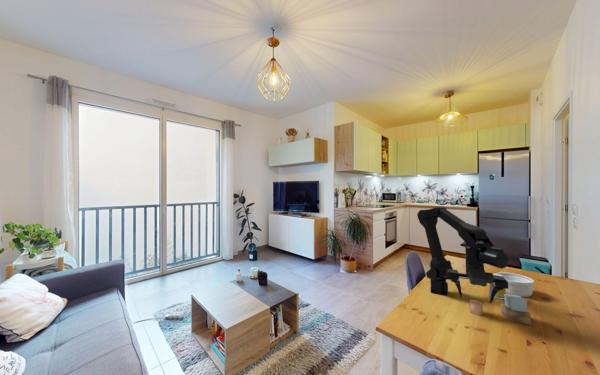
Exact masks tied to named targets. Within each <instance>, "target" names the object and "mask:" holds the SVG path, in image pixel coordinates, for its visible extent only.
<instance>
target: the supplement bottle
mask: <svg viewBox="0 0 600 375" xmlns="http://www.w3.org/2000/svg"><path fill="white" fill-rule="evenodd" d="M493 275H496V276H502V275H500V274H496V273H493ZM504 294H507V293H506V289H505V288H504V290H499V291H498V292H497V293H496V295H495V297H494V298H495V299H498V300H505V295H504Z"/></svg>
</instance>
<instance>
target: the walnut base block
mask: <svg viewBox="0 0 600 375" xmlns="http://www.w3.org/2000/svg"><path fill="white" fill-rule="evenodd" d="M500 305H501V306H500V307H501V308H500V309H501V310H500V312H501V314H502V316H504V318H506V320H508V321H509V322H512V323H517V324H525V325H532V318H531V317H532V314H531V313H530V312H529V311H528V310H527V312H520V311H512V310H511V309H509V308H508V307H507V306H506V305H505V302H504V303H500Z"/></svg>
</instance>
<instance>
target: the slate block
mask: <svg viewBox="0 0 600 375" xmlns="http://www.w3.org/2000/svg"><path fill="white" fill-rule="evenodd" d="M504 295H505V299H504V304H505V305H506V306H507V307H508V308H509V309H511V310H512V311H520V312H527V311H528V300H526V299H524V297H520V296H517V295H510V294H507V293H506V294H504Z"/></svg>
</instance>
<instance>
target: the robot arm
mask: <svg viewBox="0 0 600 375" xmlns="http://www.w3.org/2000/svg"><path fill="white" fill-rule="evenodd" d="M416 214H417V219H418V221H419V224H420V225H421V226H422V227H423V228H424V231H425V235H426V240H427V243H428V248H429V252H430V255H431V259H430V262H429V267H430V269H428V271H426V272H425V275H426V277H427V279H429V280H430V293H431V294H432V293H433V294H436V295H441V296H448V293H449V283H448V282H447V280H450V281H451V283H454V285H455V286H456V289H457V291H458V294H459V296H460V298H462V296H463V294H462V287H461V281H460V279H463V280H469V283H470V284H471V285H473V286H481V287H487V286H488V285H487V284H489V294H488V299H489V303H490V304H492V303H493V301H494V297H495V295H496V293H497V292H498V291H499V290H504V288H505V289H509V286H508V281H507V280H506V279H505V278H504V277H503V276H496V275H493V274H494V273H493V272H486V270H485V265H488V266H491V267H494V268H498V269H500V270H503V269H505V268H506V267H507V266H508V265H509V260H510V259H509V257H508V255H507V254H506V253H505V252H504V249H503V248H499V247H495V245H494V244H493V242H492V241H491V239H490V238H489V236H488V235H487V231H485V230H484V228H481V227H479V226H477V225H475V224H470V223H468V222H465V221H464V220H463V219H461V218H460V217H458V216H457V215H455V214H454V213H453V212H451V211H450V210H448V209H447V208H446V207H444V206H436V207H433V208H428V209H420V210H419V211H418V212H417V213H416ZM438 218H439V219H441V220H442V221H443V222H445V223H446V224H447V225H449V226H450V227H451V228H453V229H454V230H455V231H456V232H457V234H458V236H459V237H460V239H462V240H463V242H462V243H460V245H459V246H461V247H463V248H465V250H464V252H465V255H464V256H465V273H464V272H463V273H462V272H459V271H458V269H454V268H453V266H452V262H451V260H447V258H446V257H445V255H444V252H443V248H442V246H441V241H440V237H439V234H438V230H437V224H438Z"/></svg>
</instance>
